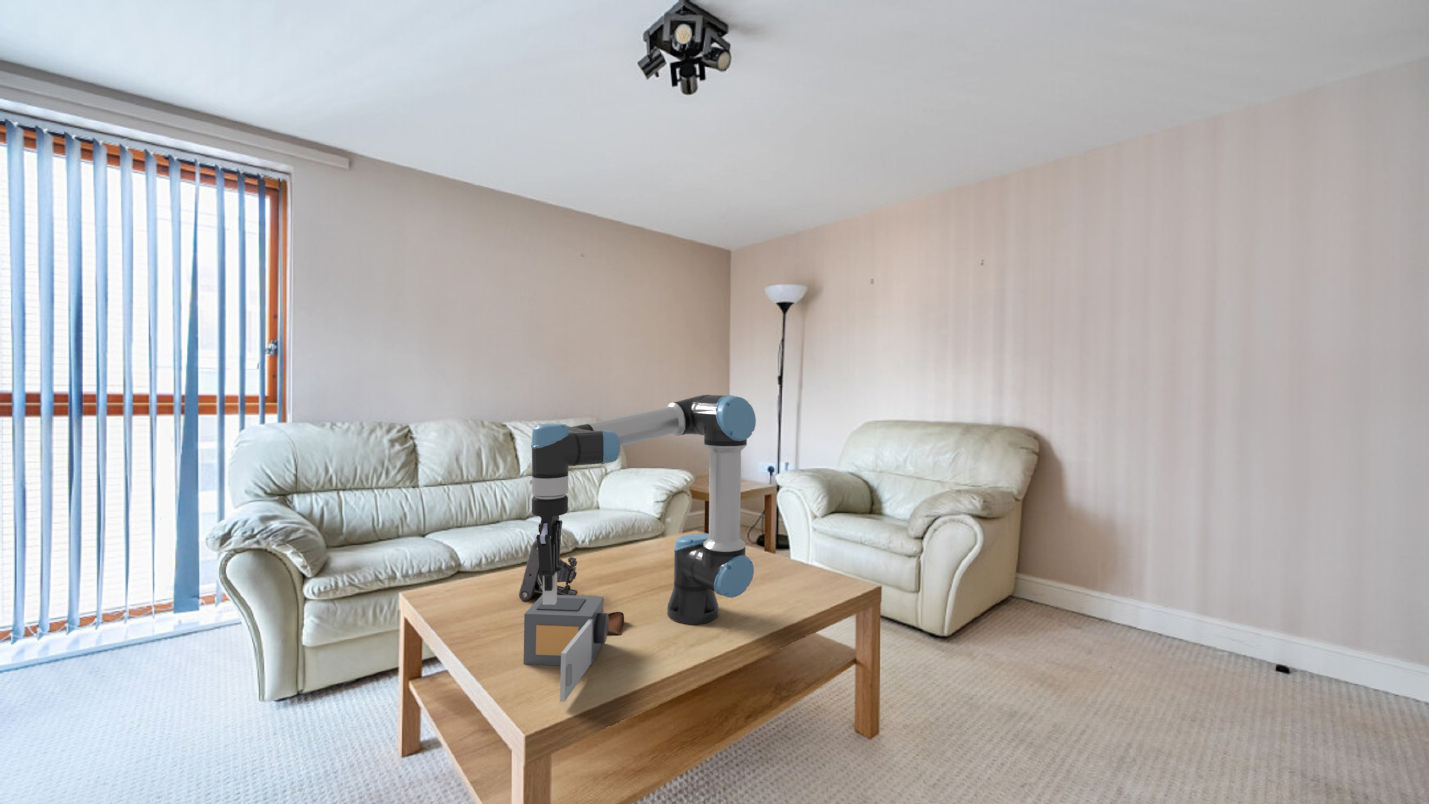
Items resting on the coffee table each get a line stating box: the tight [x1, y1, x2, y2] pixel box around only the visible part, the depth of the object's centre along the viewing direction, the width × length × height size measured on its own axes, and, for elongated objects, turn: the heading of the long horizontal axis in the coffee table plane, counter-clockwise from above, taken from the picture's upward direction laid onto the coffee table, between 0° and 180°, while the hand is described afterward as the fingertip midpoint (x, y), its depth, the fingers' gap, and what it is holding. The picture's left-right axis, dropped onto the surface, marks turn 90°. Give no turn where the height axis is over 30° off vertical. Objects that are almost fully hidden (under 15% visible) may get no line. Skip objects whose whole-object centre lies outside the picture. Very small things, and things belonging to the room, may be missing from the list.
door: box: [559, 619, 593, 703], centre depth 116 cm, size 17×2×10 cm, turn 173°
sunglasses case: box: [607, 611, 625, 636], centre depth 145 cm, size 18×7×7 cm
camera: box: [518, 539, 578, 602], centre depth 168 cm, size 11×17×20 cm, turn 89°
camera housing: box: [523, 593, 609, 668], centre depth 131 cm, size 18×12×13 cm
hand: (549, 603), depth 115 cm, fingers closed
